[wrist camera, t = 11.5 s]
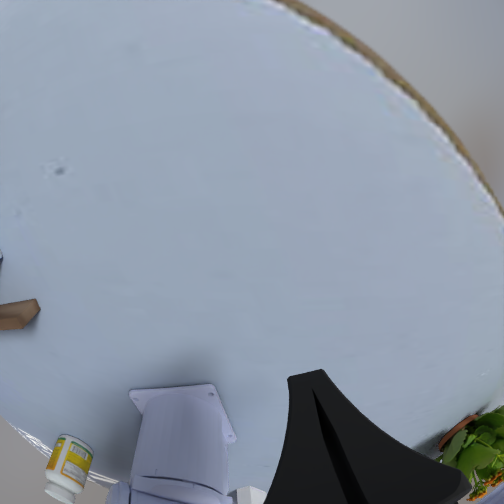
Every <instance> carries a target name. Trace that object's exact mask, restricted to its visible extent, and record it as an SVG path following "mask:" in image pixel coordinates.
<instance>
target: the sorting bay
mask: <svg viewBox="0 0 504 504" xmlns="http://www.w3.org/2000/svg"><path fill="white" fill-rule="evenodd" d="M39 310H40V307H39V305H38V303H37V301H36V299H31V300H25V301H20V302H14V303H8V304H3V305H0V330H11V329H23V328H24V327H25V326H26V324H27V323H28V322H29V321H30V320H31V319H32V318H33V317H34V316H35V315H36V313H37V312H38V311H39Z"/></svg>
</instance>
